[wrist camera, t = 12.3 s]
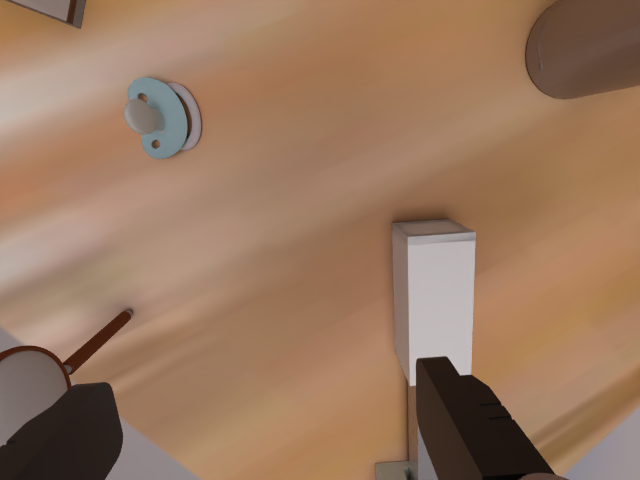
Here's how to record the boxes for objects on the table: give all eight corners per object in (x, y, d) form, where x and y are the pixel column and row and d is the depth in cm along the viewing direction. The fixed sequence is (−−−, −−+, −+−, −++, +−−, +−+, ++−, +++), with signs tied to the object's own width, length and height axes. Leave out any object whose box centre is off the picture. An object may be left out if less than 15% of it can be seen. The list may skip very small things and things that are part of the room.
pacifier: (191, 75, 36) (131, 86, 35) (169, 59, 29) (96, 72, 29) (210, 150, 37) (152, 161, 37) (193, 150, 31) (124, 163, 31)
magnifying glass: (109, 278, 40) (-80, 399, 21) (124, 275, 40) (-51, 393, 21) (134, 347, 42) (-16, 516, 23) (149, 344, 42) (11, 511, 23)
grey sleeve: (448, 218, 39) (475, 231, 33) (446, 346, 43) (470, 381, 37) (391, 223, 39) (407, 237, 33) (394, 351, 43) (409, 386, 37)
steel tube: (442, 309, 40) (457, 326, 36) (440, 496, 47) (453, 528, 43) (406, 312, 40) (416, 330, 36) (409, 498, 47) (418, 531, 43)
